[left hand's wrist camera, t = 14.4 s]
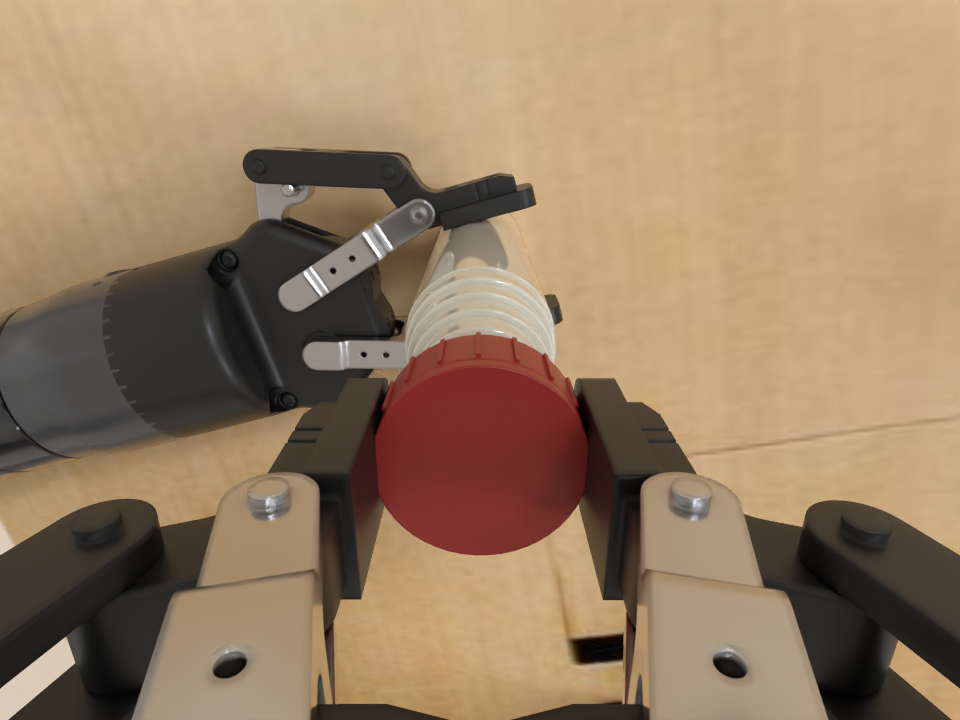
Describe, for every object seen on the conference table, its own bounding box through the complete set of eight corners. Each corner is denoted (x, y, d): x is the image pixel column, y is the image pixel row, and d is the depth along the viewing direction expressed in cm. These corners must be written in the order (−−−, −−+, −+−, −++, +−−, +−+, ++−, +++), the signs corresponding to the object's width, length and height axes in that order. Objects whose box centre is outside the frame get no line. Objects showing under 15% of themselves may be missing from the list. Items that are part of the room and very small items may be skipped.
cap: (361, 477, 12) (344, 526, 11) (414, 303, 11) (404, 331, 9) (537, 527, 13) (544, 581, 11) (609, 366, 11) (629, 403, 10)
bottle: (439, 198, 30) (362, 340, 10) (523, 202, 30) (608, 349, 10) (438, 280, 31) (369, 543, 12) (517, 283, 31) (583, 549, 12)
